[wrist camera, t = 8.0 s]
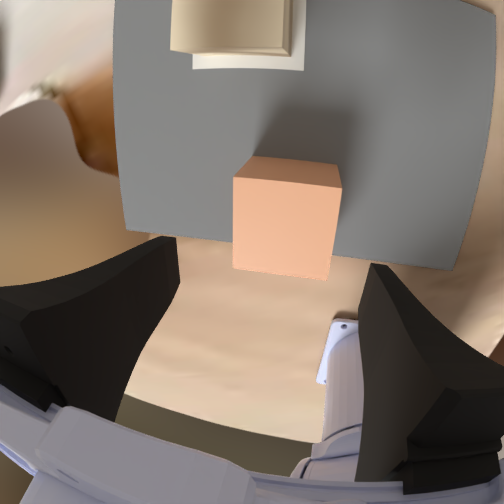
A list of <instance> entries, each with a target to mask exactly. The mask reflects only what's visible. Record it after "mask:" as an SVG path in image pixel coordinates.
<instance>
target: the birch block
mask: <svg viewBox="0 0 504 504" xmlns="http://www.w3.org/2000/svg"><path fill="white" fill-rule="evenodd" d="M292 23H293V0H172V15H171V39H170V50H172V51H178V52H184V53H189V54H195V55H200V56H225V55H254V56H281V57H291V45H292Z"/></svg>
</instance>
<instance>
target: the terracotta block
mask: <svg viewBox="0 0 504 504" xmlns="http://www.w3.org/2000/svg"><path fill="white" fill-rule="evenodd" d="M341 195H342V184H341V180H340V175H339V171H338V166H337V165H336V164H328V163H320V162H311V161H303V160H293V159H283V158H272V157H260V156H252V157H251V158H250V159H249V160H248V161H247V162H246V163H245V164H244V165H243V167H242V168H241V169H240V170H239V171H238V172H237V173H236V174H235V175H234V177H233V268H236V269H243V270H250V271H257V272H265V273H272V274H280V275H287V276H295V277H303V278H310V279H318V280H326V281H327V278H328V273H329V268H330V262H331V257H332V251H333V245H334V239H335V233H336V227H337V221H338V215H339V208H340V201H341Z"/></svg>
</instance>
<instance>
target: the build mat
mask: <svg viewBox="0 0 504 504" xmlns="http://www.w3.org/2000/svg"><path fill="white" fill-rule="evenodd" d="M171 15H172V0H115V9H114V29H113V99H114V120H115V136H116V148H117V159H118V170H119V179H120V187H121V195H122V202H123V210H124V217H125V224H126V229H127V230H132V231H141V232H149V233H158V234H166V235H174V236H183V237H191V238H199V239H208V240H216V241H224V242H232V243H233V177H234V175H235V174H236V173H237V172H238V171H239V170H240V169H241V168H242V167H243V165H244V164H245V163H246V162H247V161H248V160H249V159H250V158H251V157H252V156H260V157H272V158H283V159H293V160H303V161H311V162H320V163H328V164H336V165H337V166H338V171H339V175H340V180H341V184H342V195H341V201H340V208H339V215H338V221H337V227H336V233H335V239H334V245H333V251H332V255H335V256H343V257H351V258H359V259H366V260H374V261H381V262H389V263H397V264H404V265H412V266H419V267H427V268H434V269H442V270H449V271H452V270H453V267H454V265H455V262H456V259H457V256H458V253H459V250H460V248H461V245H462V242H463V238H464V235H465V232H466V229H467V226H468V222H469V219H470V216H471V212H472V208H473V205H474V201H475V197H476V193H477V189H478V185H479V181H480V177H481V172H482V167H483V163H484V158H485V152H486V147H487V141H488V135H489V129H490V122H491V114H492V106H493V96H494V85H495V69H496V15H494V14H492V13H490V12H488V11H485V10H483V9H481V8H478V7H476V6H473V5H471V4H468V3H466V2H463V1H461V0H293V23H292V45H291V57H281V56H254V55H225V56H200V55H195V54H189V53H184V52H178V51H172V50H170V39H171Z"/></svg>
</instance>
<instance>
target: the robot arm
mask: <svg viewBox="0 0 504 504" xmlns="http://www.w3.org/2000/svg"><path fill="white" fill-rule="evenodd" d="M179 284H180V275H179V265H178V255H177V244H176V238H175V237H167V236H160V237H157V238H154V239H152V240H149V241H147V242H145V243H143V244H140V245H138V246H137V247H134V248H132V249H130V250H128V251H126V252H124V253H122V254H119V255H117V256H115V257H113V258H110V259H108V260H106V261H104V262H101V263H99V264H97V265H94V266H92V267H89V268H86V269H84V270H81V271H78V272H75V273H72V274H68V275H65V276H61V277H57V278H54V279H50V280H46V281H41V282H36V283H30V284H24V285H15V286H4V287H0V451H2V452H3V453H4V454H5V455H6V456H8V457H9V458H10V459H11V460H13V461H14V462H15V463H16V464H18V465H19V466H20V467H22V468H23V469H25V470H26V471H27V472H29V473H30V474H32V475H33V476H34V478H33V480H32V482H31V484H30V486H29V488H28V489H27V491H26V493H25V494H24V497H23V498H22V500H21V502H20V504H504V458H502V459H501V460H498V454H497V452H499V451H500V450H501V449H502V443H501V437H502V436H503V435H504V366H502V365H500V364H498V363H496V362H494V361H493V360H491V359H489V358H488V357H486V356H484V355H483V354H481V353H480V352H478V351H477V350H475V349H474V348H472V347H471V346H469V345H468V344H467V343H465V342H464V341H462V340H461V339H460V338H458V337H457V336H456V335H455V334H453V333H452V332H451V331H450V330H449V329H447V328H446V327H445V326H444V325H443V324H442V323H441V322H439V321H438V320H437V319H436V318H435V317H434V316H433V315H432V314H431V313H430V312H429V311H428V310H427V309H426V308H425V307H424V306H423V305H422V304H421V303H420V302H419V301H418V299H417V298H416V297H415V296H414V295H413V294H412V293H411V292H410V291H409V289H408V288H407V287H406V286H405V285H404V284H403V283H402V281H401V280H400V279H399V278H398V277H397V276H396V274H395V273H394V272H393V271H392V270H391V269H390V268H389V267H388V266H387V265H382V264H374V263H371V264H370V268H369V271H368V275H367V279H366V283H365V286H364V290H363V294H362V297H361V301H360V304H359V308H358V320H350V319H341V318H336V319H334V320H332V322H331V326H330V329H329V333H328V337H327V341H326V345H325V348H324V352H323V356H322V359H321V363H320V366H319V370H318V373H317V377H316V382H317V383H319V384H326V392H325V408H324V421H323V433H322V442H320V443H316V444H313V445H312V454H311V457H309V458H305V459H303V460H301V461H300V462H299V463H298V465H297V466H296V468H295V469H294V471H293V472H292V474H291V476H290V477H284V476H277V475H270V474H264V473H257V472H252V471H247V470H245V469H243V468H241V467H240V466H237V465H236V464H234V463H232V462H230V461H228V460H226V459H223V458H220V457H217V456H214V455H211V454H208V453H205V452H202V451H199V450H195V449H192V448H188V447H185V446H181V445H178V444H174V443H171V442H168V441H164V440H161V439H158V438H155V437H152V436H149V435H146V434H143V433H140V432H138V431H134V430H132V429H129V428H127V427H124V426H121V425H119V424H116V423H114V422H115V418H116V415H117V412H118V409H119V406H120V403H121V400H122V397H123V394H124V391H125V389H126V386H127V384H128V381H129V379H130V376H131V374H132V371H133V369H134V367H135V364H136V362H137V360H138V358H139V356H140V353H141V351H142V350H143V348H144V346H145V344H146V342H147V341H148V339H149V338H150V336H151V334H152V333H153V331H154V330H155V328H156V326H157V325H158V323H159V322H160V320H161V319H162V317H163V315H164V314H165V312H166V311H167V309H168V307H169V306H170V304H171V302H172V300H173V298H174V296H175V294H176V291H177V289H178V286H179ZM343 324H345V326H342V325H343Z"/></svg>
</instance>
